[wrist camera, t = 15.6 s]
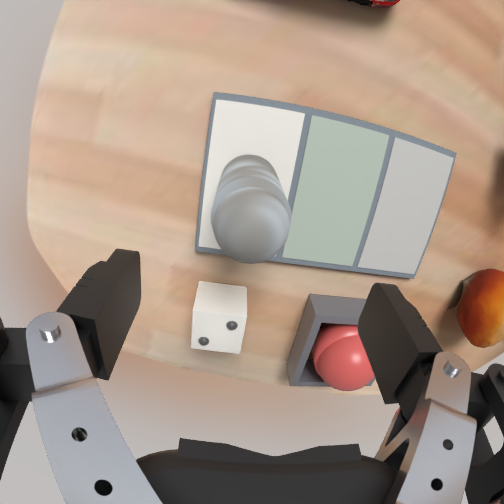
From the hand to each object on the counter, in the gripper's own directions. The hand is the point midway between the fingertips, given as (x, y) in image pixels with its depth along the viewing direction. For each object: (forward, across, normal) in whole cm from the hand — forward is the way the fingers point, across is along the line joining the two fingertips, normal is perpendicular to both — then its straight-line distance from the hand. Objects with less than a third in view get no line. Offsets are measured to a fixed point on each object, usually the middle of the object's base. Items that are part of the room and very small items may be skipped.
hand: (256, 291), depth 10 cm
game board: (+14, -6, 0) cm, 15 cm away
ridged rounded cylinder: (+13, 0, 0) cm, 13 cm away
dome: (+13, -11, +13) cm, 22 cm away
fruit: (+14, -26, +7) cm, 30 cm away
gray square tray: (+14, -11, +13) cm, 22 cm away
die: (+14, +1, +11) cm, 17 cm away
